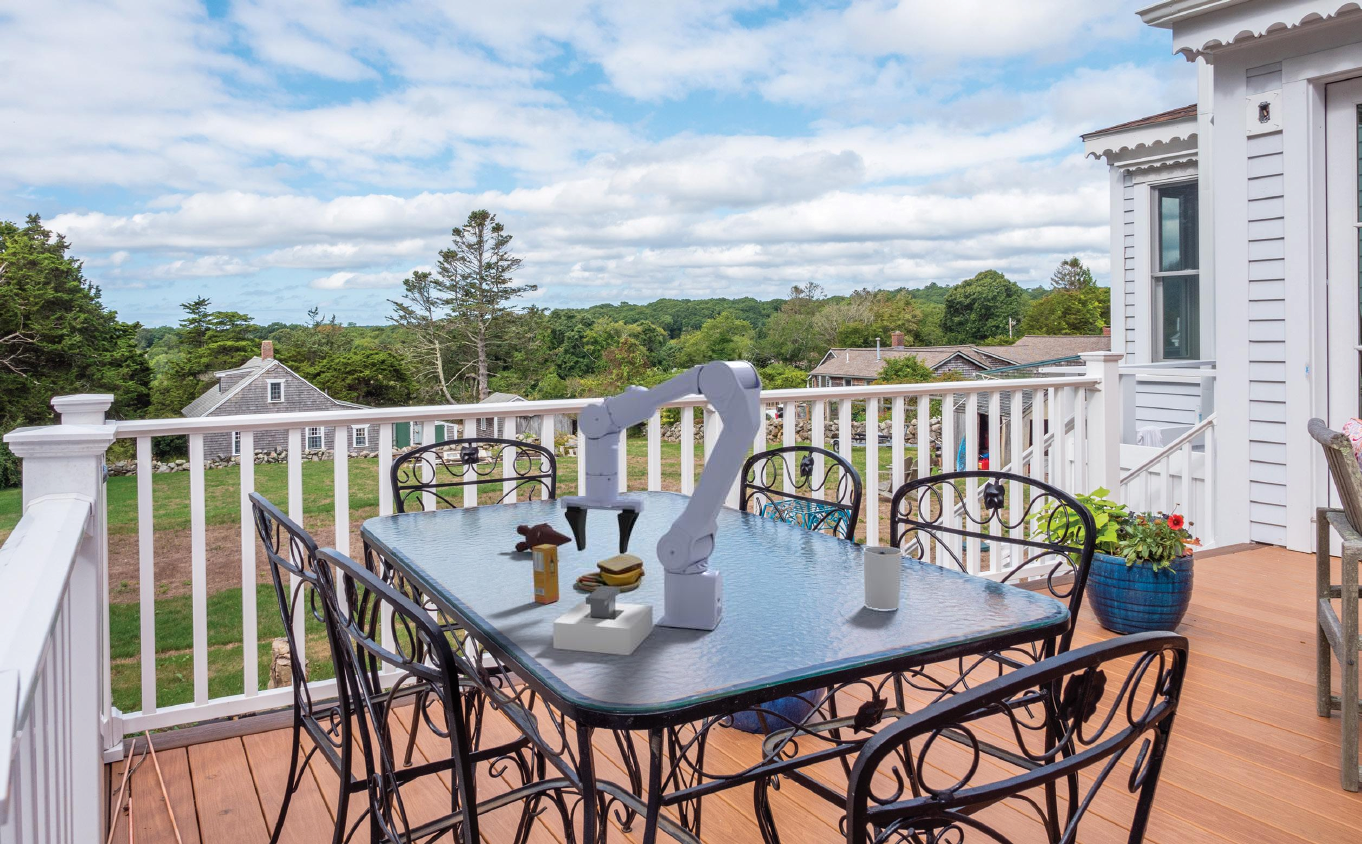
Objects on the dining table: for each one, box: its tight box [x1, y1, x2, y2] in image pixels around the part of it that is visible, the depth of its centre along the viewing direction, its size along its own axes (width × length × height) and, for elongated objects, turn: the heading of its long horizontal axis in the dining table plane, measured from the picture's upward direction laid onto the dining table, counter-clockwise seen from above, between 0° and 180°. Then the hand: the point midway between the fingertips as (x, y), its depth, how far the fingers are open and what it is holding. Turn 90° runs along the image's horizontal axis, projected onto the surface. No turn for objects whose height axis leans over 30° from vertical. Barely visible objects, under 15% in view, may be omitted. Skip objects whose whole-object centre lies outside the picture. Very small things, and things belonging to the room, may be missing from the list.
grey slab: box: [585, 586, 620, 620], centre depth 138 cm, size 3×7×6 cm, turn 166°
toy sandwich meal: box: [575, 553, 646, 593], centre depth 171 cm, size 12×14×5 cm
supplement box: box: [531, 544, 560, 605], centre depth 159 cm, size 3×3×10 cm
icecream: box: [514, 522, 573, 552], centre depth 196 cm, size 7×8×15 cm
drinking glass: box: [863, 545, 903, 609], centre depth 156 cm, size 7×7×10 cm
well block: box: [552, 600, 654, 656], centre depth 139 cm, size 12×12×4 cm
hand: (602, 551), depth 155 cm, fingers open, 7 cm apart
